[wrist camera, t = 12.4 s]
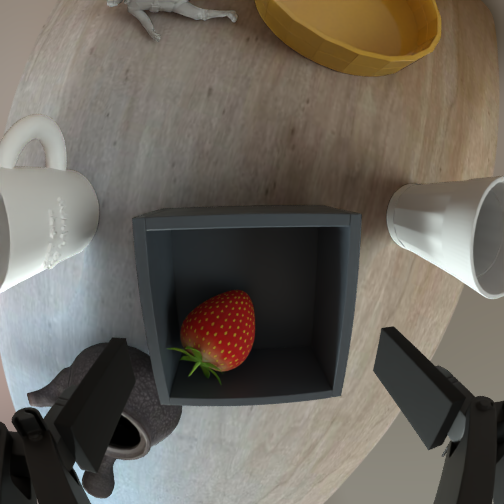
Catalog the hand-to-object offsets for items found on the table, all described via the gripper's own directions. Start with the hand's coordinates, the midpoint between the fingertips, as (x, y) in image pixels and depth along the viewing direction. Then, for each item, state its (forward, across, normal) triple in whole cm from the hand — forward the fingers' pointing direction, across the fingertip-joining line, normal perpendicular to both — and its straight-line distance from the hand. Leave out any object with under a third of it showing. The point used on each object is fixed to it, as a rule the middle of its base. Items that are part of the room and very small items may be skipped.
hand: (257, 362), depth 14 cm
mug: (+12, -16, +9) cm, 22 cm away
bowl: (+12, +10, +28) cm, 32 cm away
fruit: (+10, 0, 0) cm, 10 cm away
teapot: (+12, -15, -14) cm, 24 cm away
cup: (+12, +16, +6) cm, 21 cm away
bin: (+12, 0, 0) cm, 12 cm away
